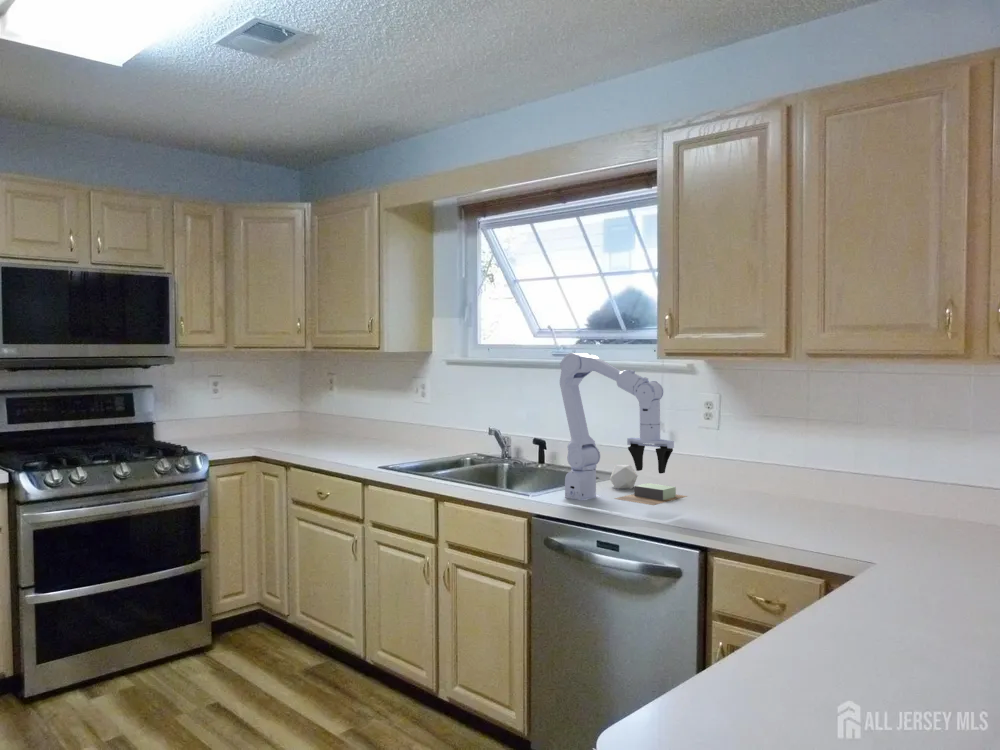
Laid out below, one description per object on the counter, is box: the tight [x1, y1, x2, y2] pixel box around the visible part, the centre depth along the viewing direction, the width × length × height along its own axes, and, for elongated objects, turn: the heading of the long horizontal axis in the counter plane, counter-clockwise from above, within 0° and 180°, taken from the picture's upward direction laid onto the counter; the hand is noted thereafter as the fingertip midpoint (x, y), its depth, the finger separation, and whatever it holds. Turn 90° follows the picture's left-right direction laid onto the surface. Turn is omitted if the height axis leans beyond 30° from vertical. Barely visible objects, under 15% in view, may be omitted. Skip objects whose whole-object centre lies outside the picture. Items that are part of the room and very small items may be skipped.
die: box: [609, 464, 639, 490], centre depth 248 cm, size 8×9×10 cm
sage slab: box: [633, 482, 677, 500], centre depth 232 cm, size 3×10×7 cm
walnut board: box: [614, 493, 688, 506], centre depth 231 cm, size 18×14×1 cm
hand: (650, 471), depth 219 cm, fingers open, 7 cm apart
